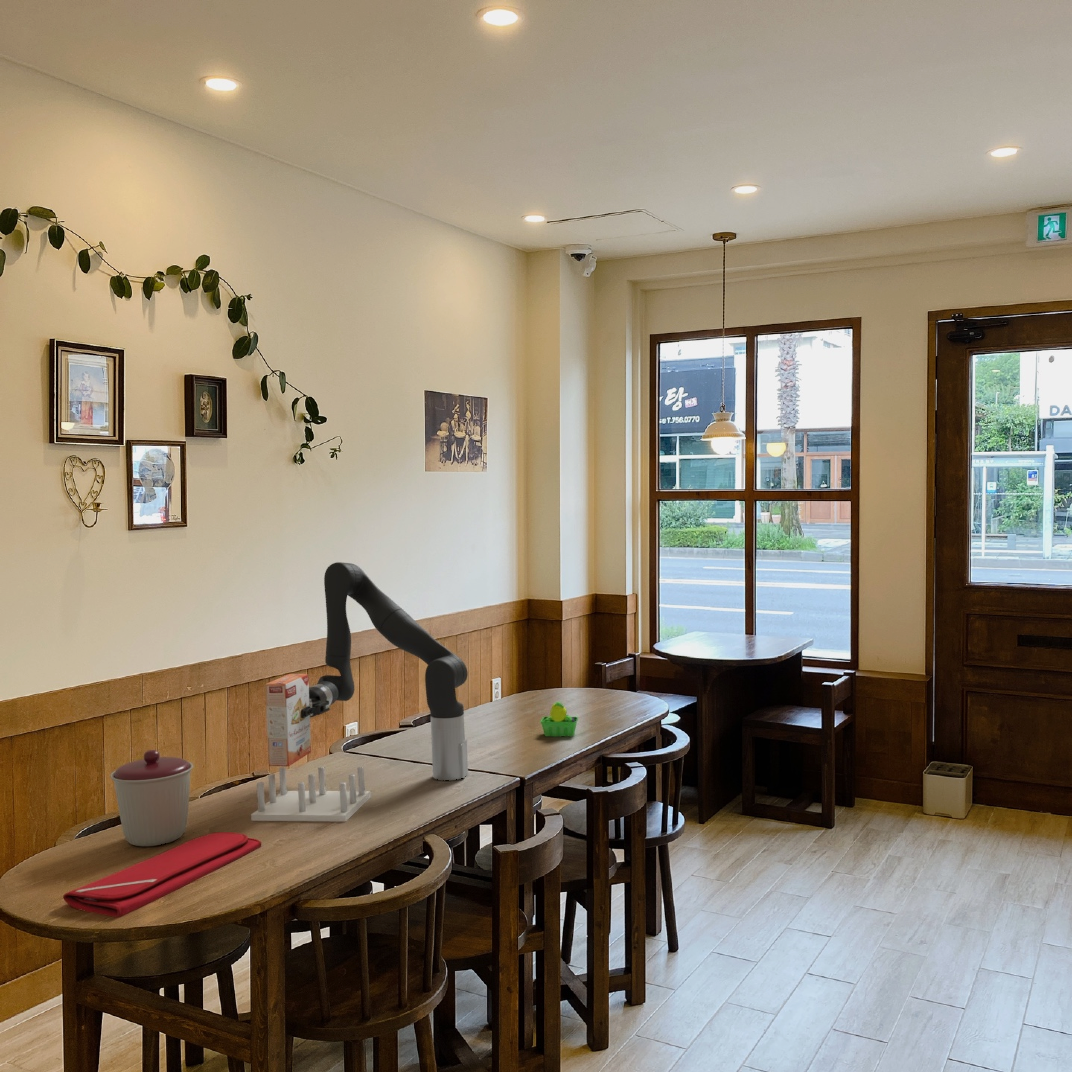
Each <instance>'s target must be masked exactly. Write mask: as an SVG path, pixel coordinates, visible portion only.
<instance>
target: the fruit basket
mask: <svg viewBox="0 0 1072 1072" xmlns="http://www.w3.org/2000/svg"><path fill="white" fill-rule="evenodd" d="M567 711H568V710H567V709H566V707H565V706H564V705H563V704H562V702H561V701H556V702H555V703H553V704H552V705H551V709H550V714H549V715H550V716H543V717H542V719H541V720H540V724H541V728H542V730H543V733H544V736H545V737H561V736H565V737H567V736H571V737H572V738H573V737H574V735H575V733H576V728H577V722H578V720H579V717H578V716H571V715H568V714H567Z"/></svg>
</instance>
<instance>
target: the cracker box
mask: <svg viewBox="0 0 1072 1072" xmlns="http://www.w3.org/2000/svg"><path fill="white" fill-rule="evenodd" d="M309 682H310V681H309V674H307V673H288V674H285V675H283V676H281V677H279V678H276V679H274V680H272V681H270V682H267V683H265V703H266V704H265V706H266V709H265V710H266V731H267V736H266V737H267V754H268V755H267V756H268V757H267V758H268V767H291V766H292V765H293V764H294V763H296V762H298V761H299V760H301V759H303V758H304V757H306V756H307V755H309V754H311V753H312V742H311V738H312V737H311V717H310V715H309V716H307V717H305V718H301V710H302V709H303V708H305V707H308V705H309V687H310V685H309V684H310V683H309Z"/></svg>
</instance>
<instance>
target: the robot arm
mask: <svg viewBox="0 0 1072 1072" xmlns="http://www.w3.org/2000/svg"><path fill="white" fill-rule="evenodd" d="M323 580H324V581H323V582H324V585H323V586H324V596H325V597H324V598H325V607H326V611H325V612H326V627H327V629H326V630H327V631H326V643H325V644H326V645H325V646H326V647H325V658H324V659H325V660H324V661H325V663H324V664H325V665H326V666H328V667H330V668H333V669H336V670H337V671H338V672H339V674H340V675H332V674H325V675H322V676H320V677H319V678H318V680H317V683H316V684H315V685H310V686H309V705H308V707H305V708H303V709H302V710H301V718H305V717H307V716H309V715H310V718H314V717H316V716H320V715H322V714H325V713H326V712H329V711H330V710H331V709H330V706H331V705H334V703H335V702H336V701H339V702H347V701H349V700H351V699H352V697H353V696H354V694H355V682H354V677H353V673H352V667H351V652H352V633H351V629H350V625H349V620H348V615H347V599H348V597H350V599H352V600H354V601H355V602H356V603H357V604H358V605H360V606H361V607H362V608H363V609H364V610H365V612H366V613H367V616H368V617H369V619H370V621H371V623H372V626H374V628H375V629H376V630H377V632H378V633H380V634H381V636H383V637H384V638H385V639H386V640H387V641H388V642H389V643H391V644H392V645H393V646H395V647H396V648H398V649H400V650H402V651H404V652H407V653H409V654H410V655H412V656H414V657H416V658H418V659H420V660H422V661H423V662H424V663H425V664H426V665H427V666H426V669H425V672H424V673H425V674H424V686H425V696H426V703H427V704H426V705H427V707H428V709H429V712H430V734H431V735H430V736H431V737H430V738H431V758H432V759H431V760H432V761H431V762H432V777H433V779H435V780H437V779H438V781H443V780H444V781H445V780H449V781H457V780H462V779H461V778H464V779H465V778H466V777H467V776H468V774H469V764H468V763H469V762H468V740H467V739H466V735H465V709H464V704H463V703H462V702H460V701H458V700H457V694H456V689H457V688H458V687H461V686H463V685H464V684H465V682H466V681H467V680H468V675H469V674H468V673H469V672H468V668H467V666H466V664H465V662H464V661H463V660H462V659H461V658H460V657H459V656H458V655H456V654H455V653H454V652H452V651H451V650H450V649H448V648H447V647H446V646H445V645H443V644H441V643H440V642H439V641H438V640H436V638H434V637H433V636H432V635H431V634H430V633H429V632H428V631H427V630H426V629H424V628H423V627H422V626H421V624H419V623H418V622H417V621H416V620H415V619H414V618H413V617H412V616H411V615H410V614H409V613H407V612H406V611H405V610H404V609H403V608H402V607H400V606H399V604H397V603H396V602H395V601H394V600H392V599H391V598H390V597H389V596H388V595H387V594H385V592H383V591H382V590H381V589H379V588H378V586H377V585H376V583H375V582H373V581H372V580H371V578H370V577H369V576H368V574H366V573H365V572H364V570H363V569H362V568H361V567H360V566H359V565H357V564H354V563H350V562H342V561H340V562H339V561H336V562H333V563H331V564H329V566H327V568H326V570H325V572H324V578H323ZM465 776H466V777H465ZM456 779H457V780H456Z"/></svg>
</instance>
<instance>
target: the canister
mask: <svg viewBox="0 0 1072 1072" xmlns="http://www.w3.org/2000/svg"><path fill="white" fill-rule="evenodd" d="M193 769H194V764H193V763H192V762H191V761H188V760H187V759H184V758H181V757H177V756H176V757H174V756H160V752H159V751H158V750H156V749H148V750H147V751H145V753H143V759H138V760H134V761H131V762H127V763H125V764H123V765H120V766H119V767H118V768H117V769H115V770H114V771H113V772H111V773H110V774H109V775H110V779H111V780H112V781H113V783H114V790H115V796H116V802H117V806H118V812H119V819H120V822H121V823H120V824H121V829H122V833H123V836H124V839H125V840H126V841H127V842H128V843H129V844H130V845H133V846H137V847H154V846H155V847H157V846H161V844H162V845H165V843H166V844H168V843H171V842H173V841H177V840H178V839H180V838H181V837H182V836H183V835H184V833H185V831H186V829H187V825H188V815H189V804H190V803H189V802H190V786H191V785H190V784H191V771H193Z"/></svg>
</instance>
